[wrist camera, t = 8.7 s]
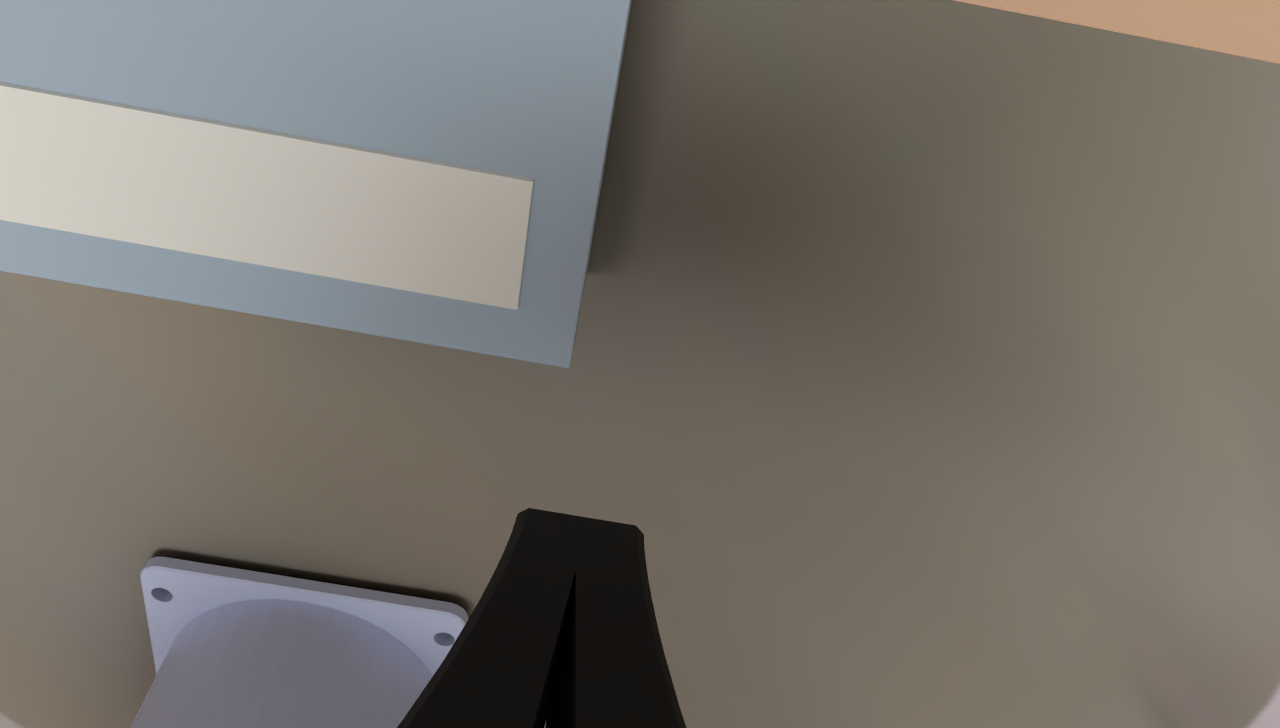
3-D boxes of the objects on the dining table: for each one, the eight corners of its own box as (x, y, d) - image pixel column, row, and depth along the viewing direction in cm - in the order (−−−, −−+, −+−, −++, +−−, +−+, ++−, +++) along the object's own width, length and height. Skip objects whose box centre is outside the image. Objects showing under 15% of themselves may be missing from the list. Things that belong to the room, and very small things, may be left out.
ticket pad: (585, 275, 21) (567, 375, 19) (-96, 154, 20) (-213, 241, 18) (648, -98, 17) (635, -35, 14) (-209, -266, 16) (-382, -231, 14)
